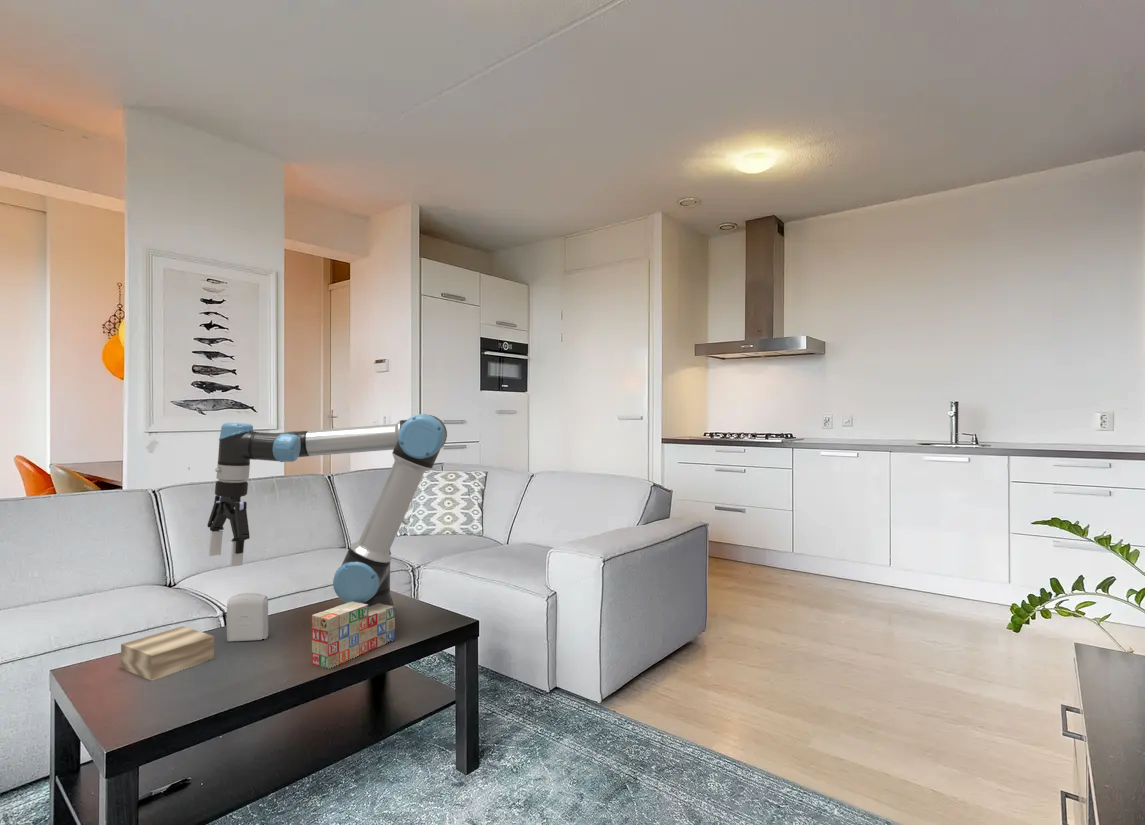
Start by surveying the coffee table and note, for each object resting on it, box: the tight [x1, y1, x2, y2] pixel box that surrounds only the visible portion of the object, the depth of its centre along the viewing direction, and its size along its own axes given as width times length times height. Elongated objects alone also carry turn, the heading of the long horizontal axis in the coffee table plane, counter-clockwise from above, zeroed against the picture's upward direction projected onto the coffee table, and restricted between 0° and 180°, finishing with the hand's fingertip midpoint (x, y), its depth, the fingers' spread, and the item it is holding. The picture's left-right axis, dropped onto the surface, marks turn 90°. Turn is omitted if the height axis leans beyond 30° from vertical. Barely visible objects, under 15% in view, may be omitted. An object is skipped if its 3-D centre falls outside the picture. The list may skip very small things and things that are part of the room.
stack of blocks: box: [310, 601, 396, 670], centre depth 152 cm, size 21×6×12 cm, turn 151°
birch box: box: [120, 625, 215, 681], centre depth 144 cm, size 14×14×6 cm
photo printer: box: [226, 592, 269, 642], centre depth 160 cm, size 10×4×12 cm, turn 97°
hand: (225, 560), depth 156 cm, fingers open, 13 cm apart
